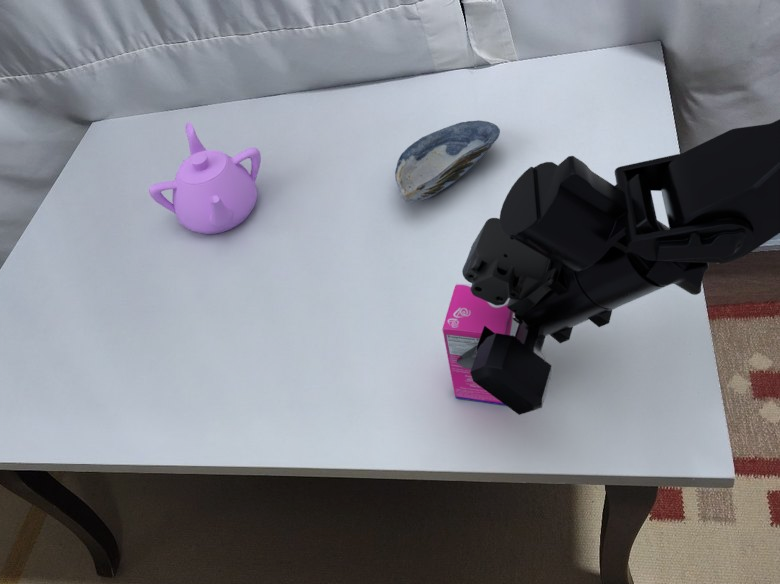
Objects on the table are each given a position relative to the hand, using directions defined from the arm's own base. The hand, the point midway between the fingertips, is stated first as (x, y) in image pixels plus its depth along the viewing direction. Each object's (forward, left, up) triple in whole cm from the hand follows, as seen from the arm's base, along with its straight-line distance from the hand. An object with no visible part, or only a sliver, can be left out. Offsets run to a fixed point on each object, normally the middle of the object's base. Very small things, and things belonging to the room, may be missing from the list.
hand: (469, 338), depth 72 cm
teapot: (+44, +5, -7) cm, 45 cm away
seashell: (+25, -19, -7) cm, 32 cm away
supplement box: (-1, -1, -7) cm, 7 cm away
